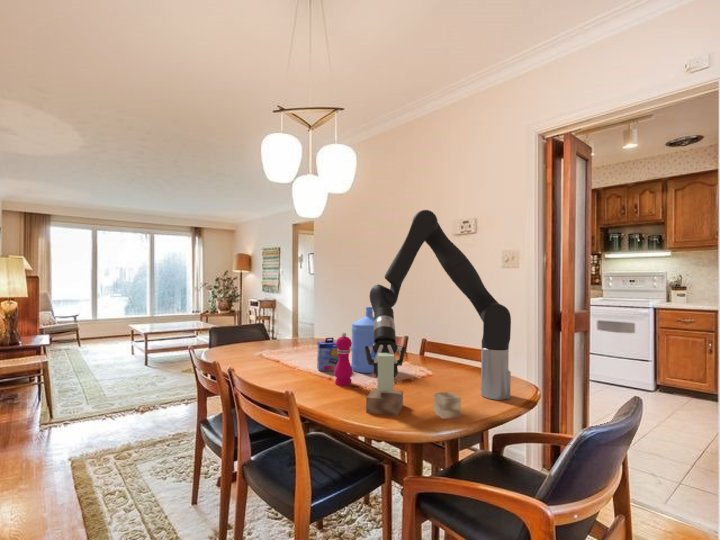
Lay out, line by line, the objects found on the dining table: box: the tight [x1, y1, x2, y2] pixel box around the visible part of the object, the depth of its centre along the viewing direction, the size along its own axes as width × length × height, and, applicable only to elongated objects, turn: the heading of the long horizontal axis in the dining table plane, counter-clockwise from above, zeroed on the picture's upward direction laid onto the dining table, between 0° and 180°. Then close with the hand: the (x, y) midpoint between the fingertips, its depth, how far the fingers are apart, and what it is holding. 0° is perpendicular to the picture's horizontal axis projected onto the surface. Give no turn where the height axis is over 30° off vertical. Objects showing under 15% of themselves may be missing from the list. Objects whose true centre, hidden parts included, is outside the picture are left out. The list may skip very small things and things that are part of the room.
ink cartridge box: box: [316, 337, 339, 372], centre depth 172 cm, size 10×6×14 cm, turn 107°
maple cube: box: [433, 391, 462, 420], centre depth 119 cm, size 6×6×6 cm
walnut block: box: [365, 387, 404, 417], centre depth 123 cm, size 10×10×5 cm
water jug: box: [350, 306, 376, 374], centre depth 173 cm, size 16×16×28 cm
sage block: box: [376, 353, 395, 391], centre depth 123 cm, size 5×5×11 cm
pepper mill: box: [333, 332, 354, 387], centre depth 150 cm, size 7×7×20 cm
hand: (385, 375), depth 121 cm, fingers closed on sage block, 5 cm apart
